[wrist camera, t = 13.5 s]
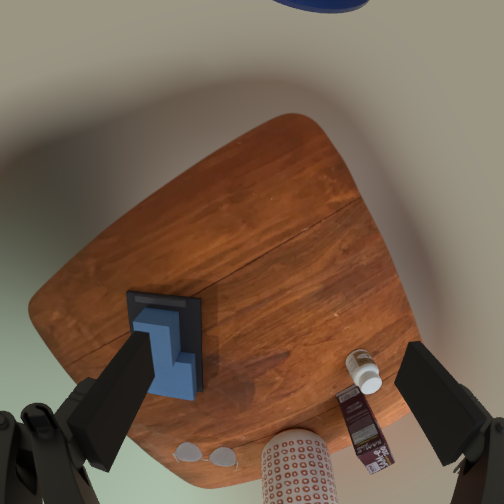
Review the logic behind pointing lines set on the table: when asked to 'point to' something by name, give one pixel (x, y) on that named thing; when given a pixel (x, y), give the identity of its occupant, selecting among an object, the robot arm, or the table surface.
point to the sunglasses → (217, 457)
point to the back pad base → (190, 357)
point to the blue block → (161, 334)
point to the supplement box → (364, 430)
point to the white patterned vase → (297, 469)
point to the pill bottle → (363, 371)
